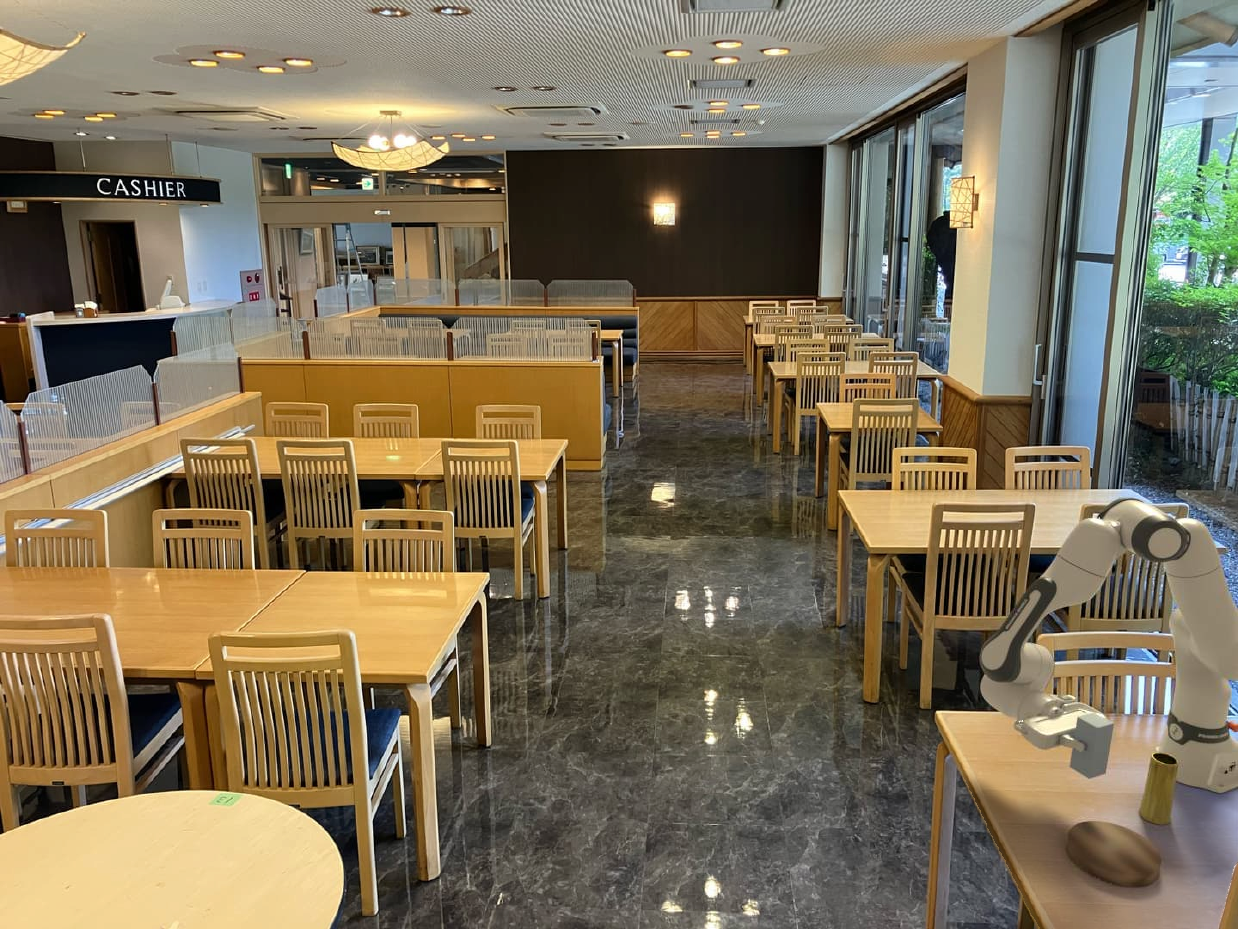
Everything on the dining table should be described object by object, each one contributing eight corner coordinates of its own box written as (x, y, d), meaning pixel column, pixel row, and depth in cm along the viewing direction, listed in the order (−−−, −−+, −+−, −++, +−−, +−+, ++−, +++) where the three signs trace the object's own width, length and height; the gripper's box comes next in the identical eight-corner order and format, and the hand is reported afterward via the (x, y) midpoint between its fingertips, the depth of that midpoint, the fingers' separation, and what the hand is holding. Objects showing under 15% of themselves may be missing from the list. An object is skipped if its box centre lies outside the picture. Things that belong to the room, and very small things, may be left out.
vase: (1158, 828, 209) (1169, 769, 205) (1132, 812, 214) (1142, 754, 211) (1176, 820, 212) (1187, 762, 208) (1150, 805, 217) (1160, 748, 213)
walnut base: (1115, 828, 209) (1117, 816, 208) (1179, 879, 193) (1181, 866, 192) (1048, 840, 204) (1050, 827, 203) (1107, 893, 188) (1110, 880, 188)
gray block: (1085, 761, 213) (1093, 712, 210) (1105, 773, 209) (1114, 723, 206) (1069, 766, 211) (1077, 716, 208) (1089, 779, 207) (1097, 728, 203)
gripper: (1010, 711, 214) (1062, 742, 202) (1076, 693, 223) (1130, 722, 211) (1007, 737, 216) (1058, 769, 204) (1072, 718, 224) (1125, 748, 212)
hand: (1095, 745), depth 207 cm, fingers closed on gray block, 5 cm apart
